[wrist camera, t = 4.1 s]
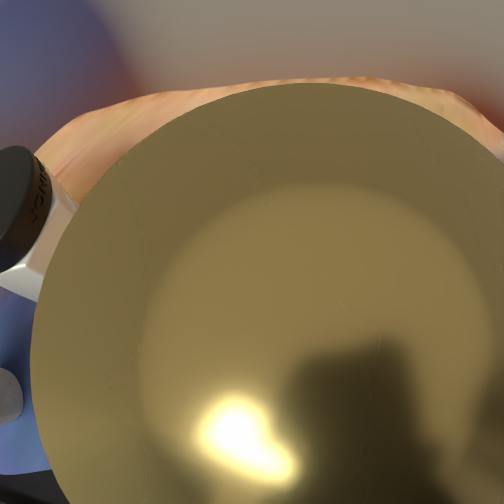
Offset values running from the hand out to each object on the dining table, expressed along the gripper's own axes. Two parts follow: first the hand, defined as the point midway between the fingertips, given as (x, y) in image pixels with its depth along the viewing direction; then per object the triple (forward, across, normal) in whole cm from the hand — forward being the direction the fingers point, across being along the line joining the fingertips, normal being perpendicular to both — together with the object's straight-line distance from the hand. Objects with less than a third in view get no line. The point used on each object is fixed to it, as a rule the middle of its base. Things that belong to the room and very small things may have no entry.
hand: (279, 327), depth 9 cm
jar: (+16, +16, +3) cm, 23 cm away
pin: (+4, 0, +6) cm, 7 cm away
